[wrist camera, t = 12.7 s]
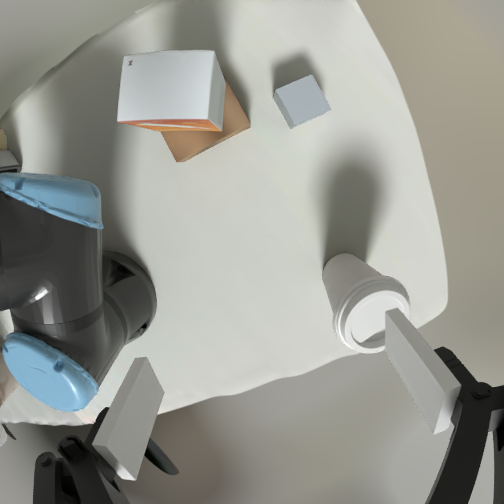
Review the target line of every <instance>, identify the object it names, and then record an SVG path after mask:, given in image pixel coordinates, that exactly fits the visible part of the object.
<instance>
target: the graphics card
mask: <svg viewBox="0 0 504 504" xmlns="http://www.w3.org/2000/svg"><path fill="white" fill-rule="evenodd" d="M6 172H8V173H20V172H21V166H20V164H19V163H18V161H17V160H16V158H15V156H14V155H13V153H12V152H11V151H10V150H5V151H0V174H1V173H6Z"/></svg>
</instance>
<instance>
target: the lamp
mask: <svg viewBox="0 0 504 504" xmlns="http://www.w3.org/2000/svg"><path fill="white" fill-rule="evenodd" d="M18 385H19V383H18V382H17V380H16V379H15V378H14V376H13V375H12V374H11V372H10V371H9V369H8V367H7V365H6V363H5V360H4V357H3V352H0V407H1V406H2V405H3V404H4V402H5V401H6V400H7V399H8V397H9V396H10V395H11V394H12V393H13V391H14V390H15V389H16V388H17V386H18ZM6 440H7V435H6V432H5V430H4V428H3V426H2V424H1V423H0V447H1V445H3V444H4V443H5V442H6Z"/></svg>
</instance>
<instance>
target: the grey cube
mask: <svg viewBox="0 0 504 504" xmlns="http://www.w3.org/2000/svg"><path fill="white" fill-rule="evenodd" d="M273 98H274V100H275V102H276V104H277V106H278V107H279V109H280V111H281V113H282V115H283V116H284V118H285V120H286V122H287V124H288V126H289V127H290V129H292V128H294V127H296V126H298V125H300V124H303V123H305V122H307V121H309V120H311V119H314V118H316V117H318V116H320V115H323V114H324V113H326V112H328V111H329V110H331V108H330V106H329V104H328V102H327V100H326V98H325V97H324V95H323V93H322V91H321V89H320V88H319V86H318V84H317V82H316V80H315V79H314V77H313V75H312V74H311V75H309V76H306V77H304V78H302V79H299V80H297V81H294V82H292V83H290V84H287V85H285V86H283V87H281V88H278V89H276V90H275V93H274V96H273Z"/></svg>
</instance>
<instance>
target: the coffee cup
mask: <svg viewBox="0 0 504 504" xmlns="http://www.w3.org/2000/svg"><path fill="white" fill-rule="evenodd" d="M323 282H324V285H325V288H326V291H327V295H328V298H329V301H330V304H331V308H332V311H333V329H334V332H335V334H336V336H337V338H338V339H339V340H340V341H341V342H342V343H343V344H344V345H346V346H347V347H349V348H351V349H353V350H356V351H359V352H362V353H376V352H380V351H383V350H385V311H387V310H391V309H394V308H399V310H400V311H401V312H402V313H403V314H404V315H405V317H406V318H407V319H408V320H409V321H410V300H409V296H408V293H407V291H406V289H405V288H404V286H403V285H402V284H401V283H400V282H399V281H398V280H396V279H394V278H392V277H389V276H383V275H382V274H380V273H379V272H378V271H376V270H375V269H373V268H372V267H370V266H369V265H368V264H366V263H365V262H363V261H362V260H360V259H359V258H358V257H356V256H354V255H352V254H349V253H342V254H338V255H336V256H334V257H332V258H331V259H330V260H329V261H328V262H327V263H326V265H325V267H324V270H323Z"/></svg>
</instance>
